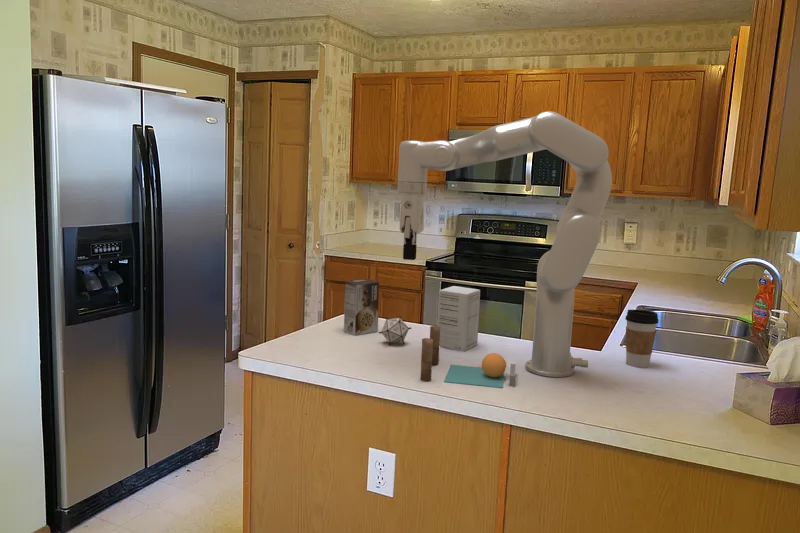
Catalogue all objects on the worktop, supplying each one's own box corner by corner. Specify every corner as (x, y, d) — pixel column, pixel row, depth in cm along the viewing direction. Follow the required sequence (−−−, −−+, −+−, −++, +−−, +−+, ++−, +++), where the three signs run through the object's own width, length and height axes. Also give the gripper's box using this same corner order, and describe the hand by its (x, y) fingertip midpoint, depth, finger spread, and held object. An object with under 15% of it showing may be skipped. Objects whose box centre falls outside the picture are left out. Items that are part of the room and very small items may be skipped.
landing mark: (504, 370, 158) (504, 369, 158) (502, 388, 144) (502, 387, 144) (450, 365, 161) (450, 364, 161) (443, 382, 147) (443, 381, 147)
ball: (484, 347, 155) (479, 369, 156) (484, 354, 149) (478, 377, 150) (508, 353, 154) (502, 375, 155) (508, 360, 148) (503, 383, 149)
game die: (399, 357, 179) (410, 335, 173) (372, 346, 179) (383, 324, 172) (406, 336, 186) (417, 314, 180) (380, 325, 186) (390, 303, 179)
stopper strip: (514, 373, 155) (515, 364, 155) (514, 386, 146) (514, 376, 145) (509, 373, 156) (510, 363, 155) (508, 385, 146) (509, 375, 146)
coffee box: (366, 327, 197) (367, 278, 195) (378, 332, 192) (380, 281, 190) (342, 331, 191) (344, 280, 189) (354, 336, 187) (356, 284, 184)
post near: (431, 378, 149) (433, 338, 148) (430, 381, 147) (432, 341, 145) (421, 377, 150) (423, 337, 148) (419, 380, 147) (421, 340, 146)
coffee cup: (614, 361, 169) (619, 308, 167) (636, 358, 173) (641, 306, 171) (638, 370, 162) (644, 315, 160) (660, 367, 166) (666, 313, 164)
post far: (439, 363, 162) (440, 326, 161) (437, 366, 160) (439, 328, 158) (429, 362, 163) (431, 325, 161) (427, 365, 160) (429, 327, 159)
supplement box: (450, 339, 187) (453, 285, 184) (478, 344, 182) (481, 289, 179) (435, 346, 178) (438, 289, 176) (464, 351, 174) (467, 293, 171)
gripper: (421, 190, 150) (418, 264, 153) (430, 189, 165) (427, 256, 168) (392, 189, 152) (389, 262, 155) (403, 188, 166) (401, 255, 169)
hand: (409, 259), depth 161 cm, fingers closed
